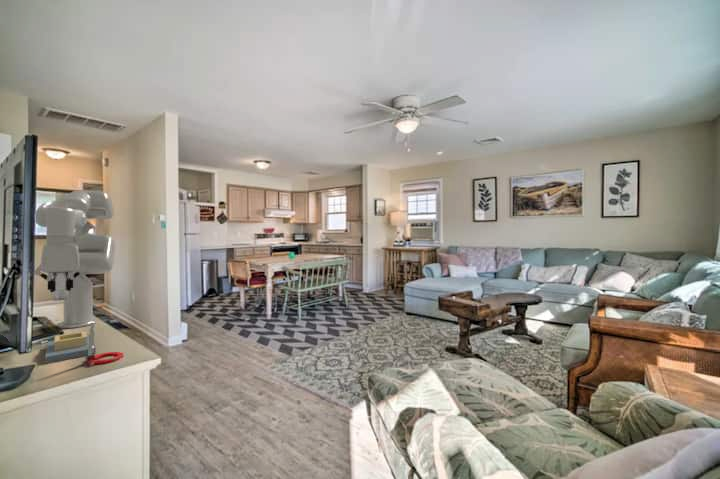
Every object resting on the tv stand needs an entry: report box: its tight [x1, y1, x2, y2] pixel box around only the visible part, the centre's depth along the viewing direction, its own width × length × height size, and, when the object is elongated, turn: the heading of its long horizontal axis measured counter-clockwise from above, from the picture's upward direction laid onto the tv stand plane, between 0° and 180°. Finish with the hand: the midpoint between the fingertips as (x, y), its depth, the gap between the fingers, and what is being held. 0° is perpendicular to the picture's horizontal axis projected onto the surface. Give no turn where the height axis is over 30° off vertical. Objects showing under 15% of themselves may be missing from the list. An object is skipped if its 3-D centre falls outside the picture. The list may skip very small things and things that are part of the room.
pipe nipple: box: [52, 272, 68, 302], centre depth 113 cm, size 4×4×10 cm
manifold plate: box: [44, 330, 96, 364], centre depth 108 cm, size 18×12×5 cm, turn 44°
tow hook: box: [85, 322, 124, 367], centre depth 101 cm, size 8×13×9 cm
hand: (60, 290), depth 113 cm, fingers closed on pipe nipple, 4 cm apart
